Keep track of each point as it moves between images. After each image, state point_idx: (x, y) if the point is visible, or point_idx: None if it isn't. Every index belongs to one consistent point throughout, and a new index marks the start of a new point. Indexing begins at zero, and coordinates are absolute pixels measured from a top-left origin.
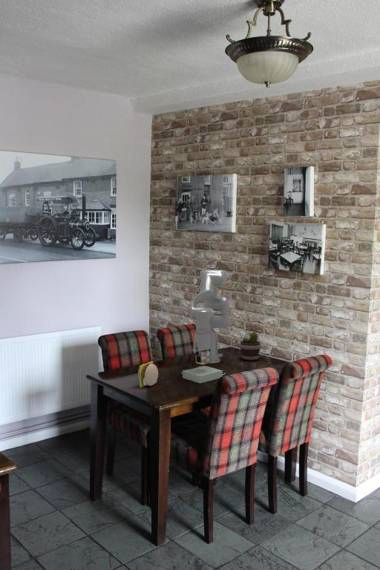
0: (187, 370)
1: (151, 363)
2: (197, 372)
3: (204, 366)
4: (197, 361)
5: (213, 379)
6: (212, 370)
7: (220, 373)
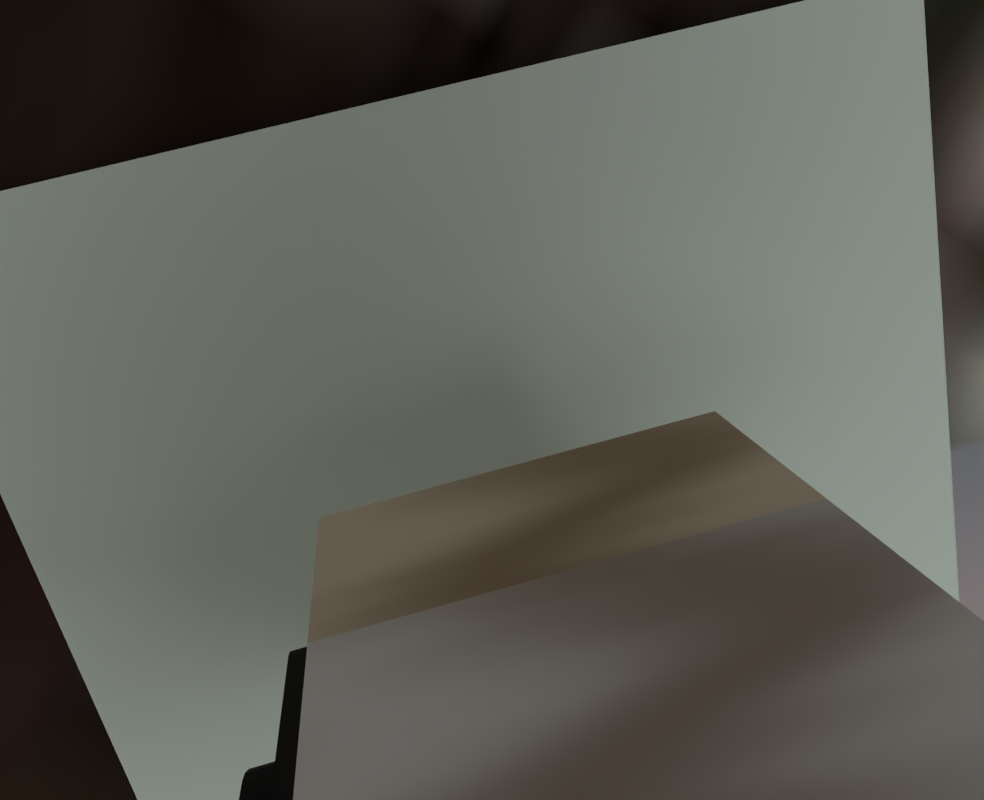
0: (94, 216)
1: None
2: (296, 568)
3: (859, 51)
4: None
5: None
6: None
7: None
